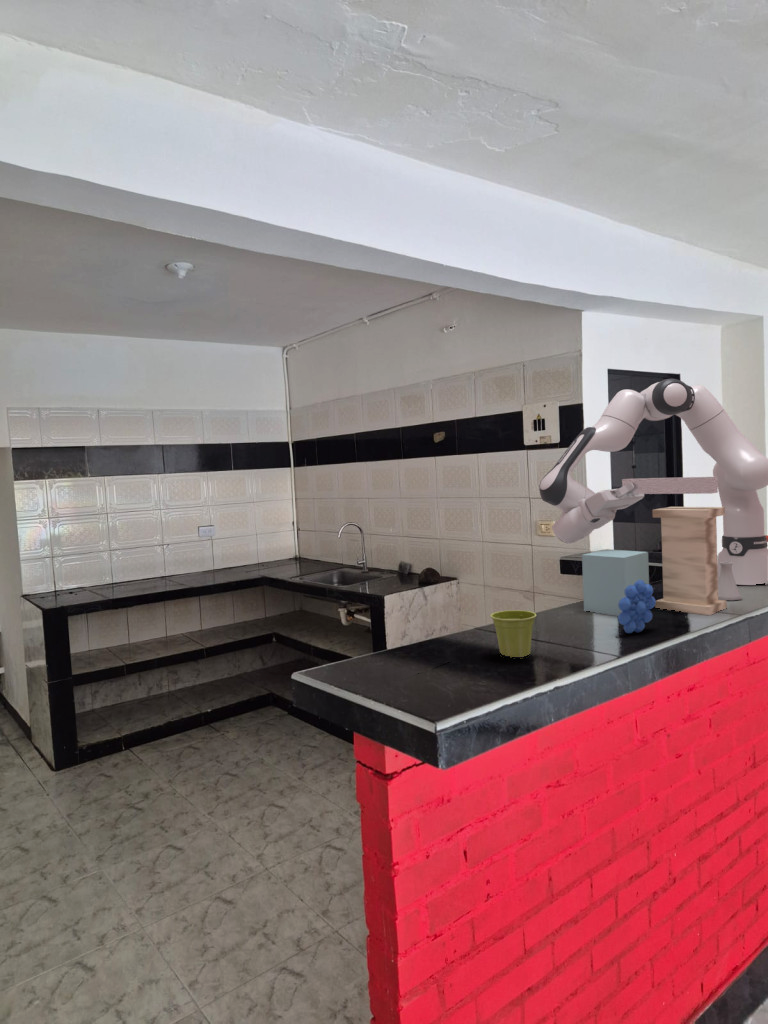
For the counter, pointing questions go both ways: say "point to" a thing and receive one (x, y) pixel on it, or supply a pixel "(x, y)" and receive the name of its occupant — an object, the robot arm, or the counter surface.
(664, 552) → the birch stand
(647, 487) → the pink bar
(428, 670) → the counter surface
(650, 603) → the grapes
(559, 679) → the counter surface
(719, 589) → the flask
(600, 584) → the block
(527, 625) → the plant pot
